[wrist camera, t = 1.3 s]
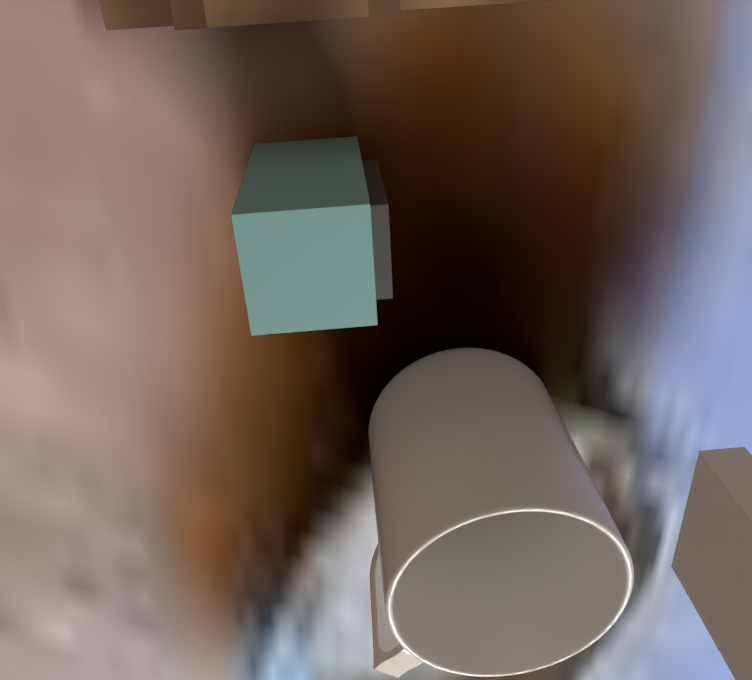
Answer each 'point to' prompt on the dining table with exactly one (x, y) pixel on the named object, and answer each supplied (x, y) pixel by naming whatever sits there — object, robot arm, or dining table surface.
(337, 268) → the teal rectangular block
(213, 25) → the rail
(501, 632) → the grey rounded block
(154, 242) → the dining table surface
